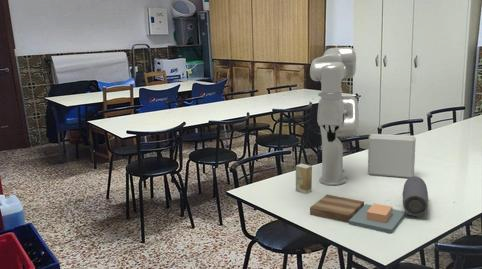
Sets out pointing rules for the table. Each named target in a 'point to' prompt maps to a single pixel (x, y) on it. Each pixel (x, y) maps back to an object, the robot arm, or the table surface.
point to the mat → (387, 227)
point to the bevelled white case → (391, 155)
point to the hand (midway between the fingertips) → (331, 141)
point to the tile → (379, 213)
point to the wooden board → (336, 208)
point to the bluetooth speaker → (415, 196)
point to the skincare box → (303, 178)
